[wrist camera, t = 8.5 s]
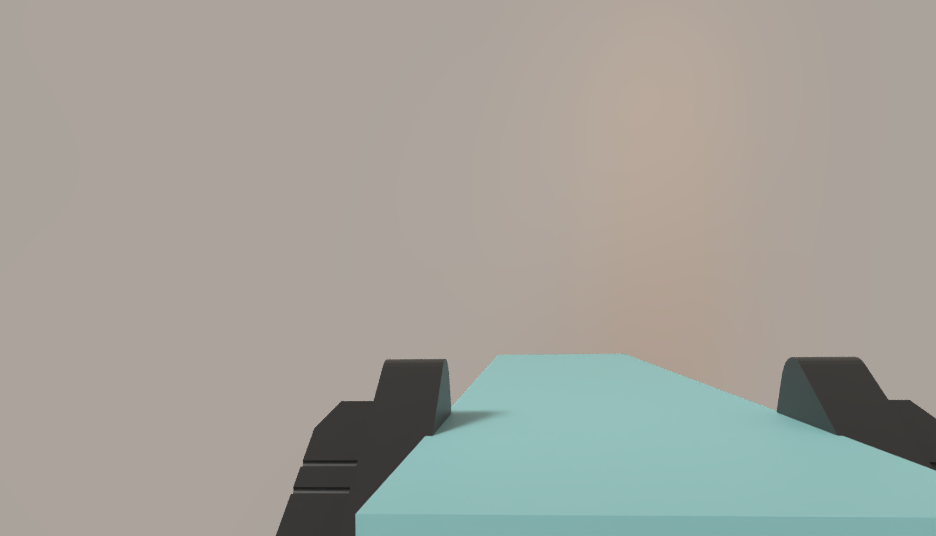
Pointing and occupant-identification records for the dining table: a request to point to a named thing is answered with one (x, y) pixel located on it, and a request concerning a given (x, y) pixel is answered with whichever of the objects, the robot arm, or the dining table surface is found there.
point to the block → (637, 463)
